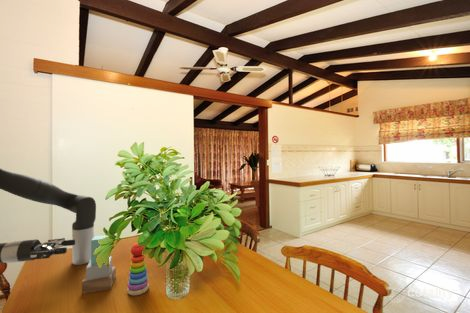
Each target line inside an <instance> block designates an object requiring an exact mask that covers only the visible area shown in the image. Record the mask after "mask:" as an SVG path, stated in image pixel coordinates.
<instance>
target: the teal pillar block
mask: <svg viewBox="0 0 470 313" xmlns="http://www.w3.org/2000/svg"><path fill="white" fill-rule="evenodd" d="M106 235H107V234H105V235H102V234H101V235H94V238H93V239H92V240H91V265H95V264H97V262H96V258H97V256H98V255H94V254H93V253H94V251H95V249H96V248H98V247H99V246H100V244H99V243H98V240H100V239H103V238H105V237H106Z"/></svg>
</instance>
